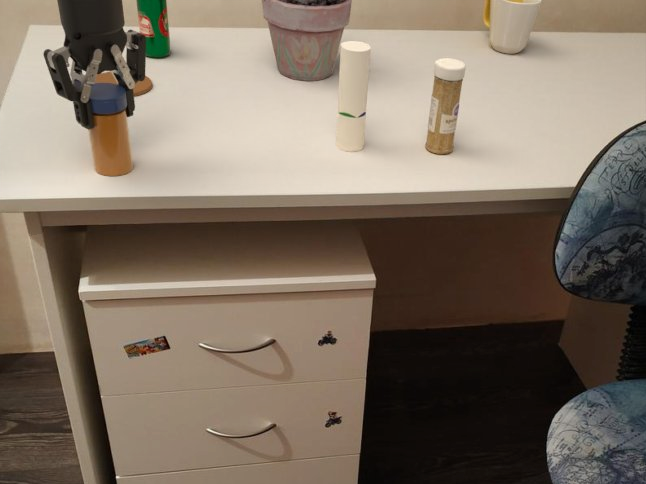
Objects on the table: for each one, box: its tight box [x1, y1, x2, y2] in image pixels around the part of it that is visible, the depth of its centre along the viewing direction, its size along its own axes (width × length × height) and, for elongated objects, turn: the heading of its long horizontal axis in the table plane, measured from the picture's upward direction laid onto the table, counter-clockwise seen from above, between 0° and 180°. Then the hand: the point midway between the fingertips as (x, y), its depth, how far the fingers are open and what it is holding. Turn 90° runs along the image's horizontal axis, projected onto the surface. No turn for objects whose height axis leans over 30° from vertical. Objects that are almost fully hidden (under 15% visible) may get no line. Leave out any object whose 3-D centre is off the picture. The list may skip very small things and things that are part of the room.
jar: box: [87, 108, 134, 177], centre depth 109 cm, size 5×5×10 cm
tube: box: [335, 40, 372, 153], centre depth 120 cm, size 4×4×15 cm
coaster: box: [95, 71, 153, 97], centre depth 134 cm, size 10×10×1 cm
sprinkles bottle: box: [424, 57, 467, 155], centre depth 122 cm, size 5×5×14 cm
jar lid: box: [88, 83, 127, 114], centre depth 106 cm, size 6×6×2 cm
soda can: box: [135, 0, 172, 59], centre depth 142 cm, size 5×5×12 cm
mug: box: [482, 0, 543, 55], centre depth 164 cm, size 14×10×10 cm
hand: (107, 120), depth 108 cm, fingers closed on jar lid, 5 cm apart
